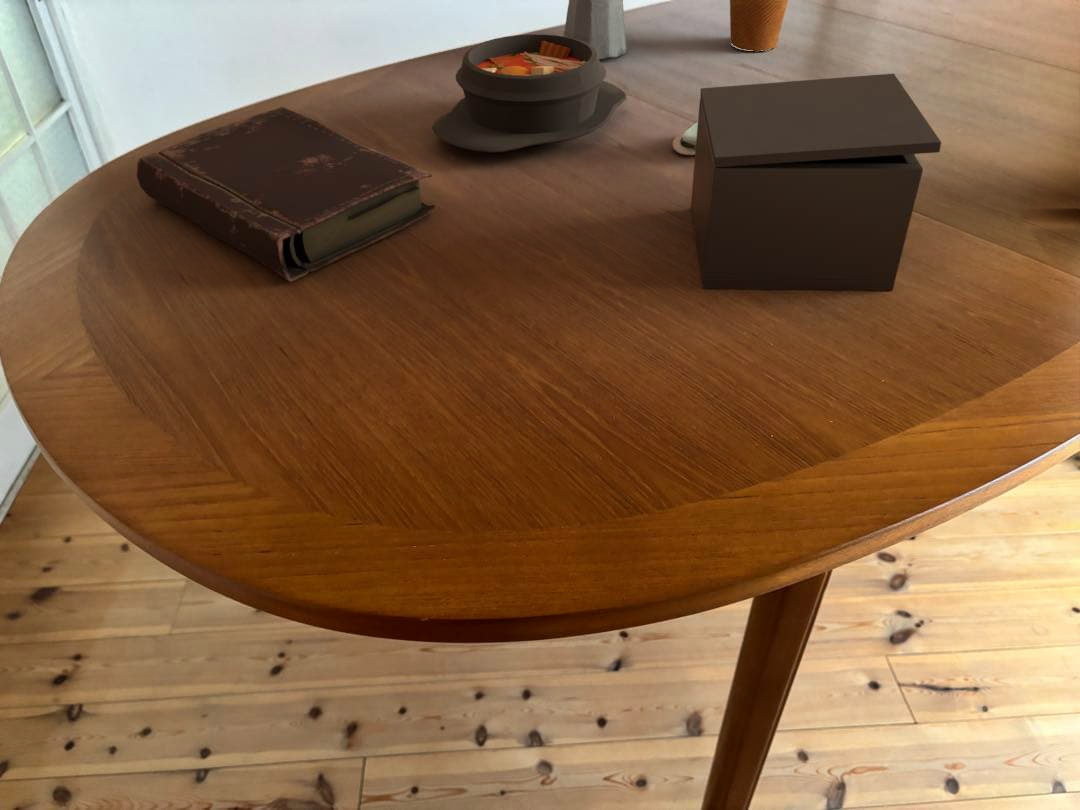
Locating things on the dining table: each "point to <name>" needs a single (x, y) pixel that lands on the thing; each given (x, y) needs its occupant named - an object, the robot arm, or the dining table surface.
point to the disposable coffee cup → (756, 23)
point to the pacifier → (688, 137)
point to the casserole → (528, 94)
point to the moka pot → (597, 25)
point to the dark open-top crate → (801, 221)
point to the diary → (285, 190)
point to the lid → (814, 121)
